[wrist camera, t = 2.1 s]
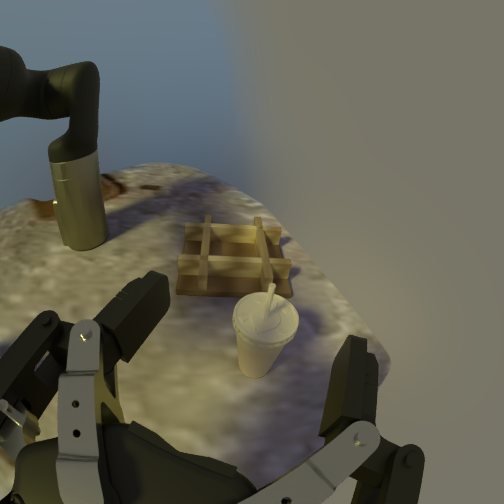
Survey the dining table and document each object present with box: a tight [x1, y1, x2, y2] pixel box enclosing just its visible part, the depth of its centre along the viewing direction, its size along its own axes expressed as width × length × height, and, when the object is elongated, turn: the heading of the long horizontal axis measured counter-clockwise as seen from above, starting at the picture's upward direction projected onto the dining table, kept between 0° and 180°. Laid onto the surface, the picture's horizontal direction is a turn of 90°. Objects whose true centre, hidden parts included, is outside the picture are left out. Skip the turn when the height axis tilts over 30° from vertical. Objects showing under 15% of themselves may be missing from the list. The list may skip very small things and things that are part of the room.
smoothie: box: [232, 283, 299, 378], centre depth 27 cm, size 6×6×14 cm
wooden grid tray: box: [176, 214, 292, 298], centre depth 45 cm, size 17×17×4 cm
